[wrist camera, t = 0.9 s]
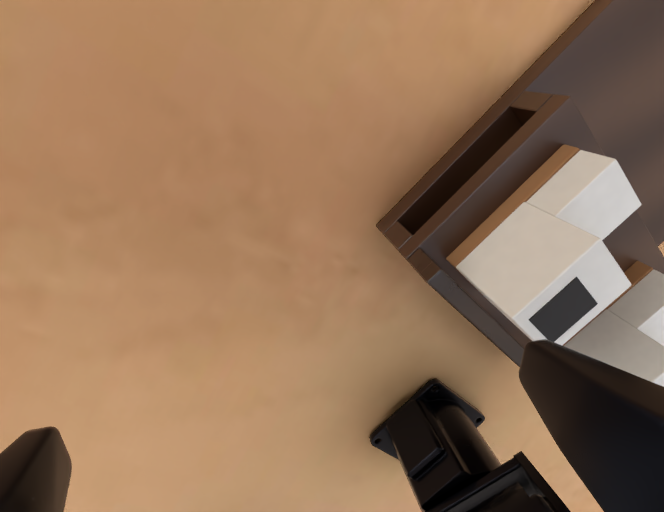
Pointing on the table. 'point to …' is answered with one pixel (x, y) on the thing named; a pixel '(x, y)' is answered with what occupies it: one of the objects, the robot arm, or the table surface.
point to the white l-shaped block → (629, 328)
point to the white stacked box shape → (552, 246)
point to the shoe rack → (549, 152)
